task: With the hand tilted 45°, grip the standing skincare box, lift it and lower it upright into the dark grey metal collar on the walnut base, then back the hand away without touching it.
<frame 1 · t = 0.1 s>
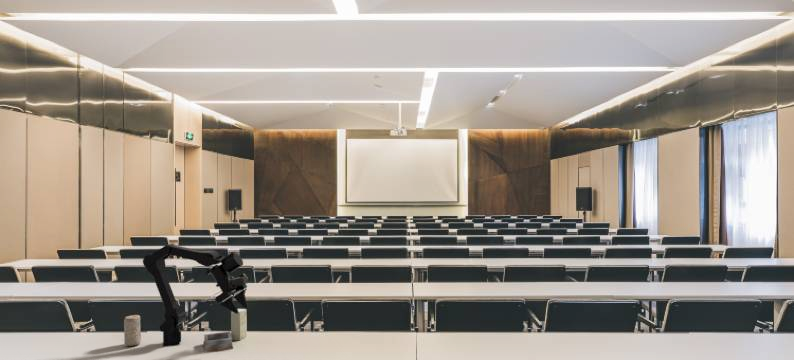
hand: (242, 310, 214), 15 cm above the table, tool tilted 35°, fingers open, 9 cm apart
skincare box: (238, 338, 225), on the table
carving: (132, 345, 216), on the table
socket: (218, 346, 214), on the table
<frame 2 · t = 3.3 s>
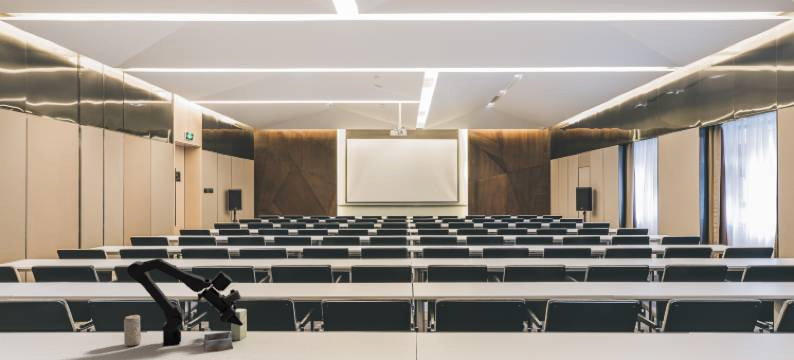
hand: (242, 322, 225), 7 cm above the table, tool tilted 45°, fingers closed on skincare box, 7 cm apart
skincare box: (238, 338, 225), on the table, touching gripper
everything else where it was.
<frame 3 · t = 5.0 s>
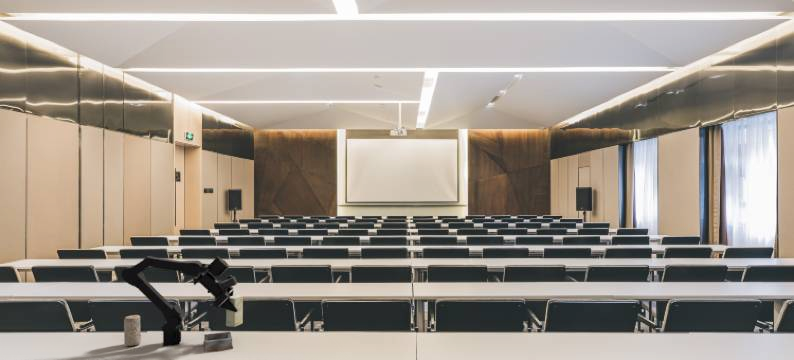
hand: (237, 309, 222), 13 cm above the table, tool tilted 45°, fingers closed on skincare box, 7 cm apart
skincare box: (234, 325, 222), point 6 cm above the table, touching gripper
everything else where it was.
when the fingers open (9 cm above the table, at t = 7.2 s): skincare box drops 1 cm, resting on socket.
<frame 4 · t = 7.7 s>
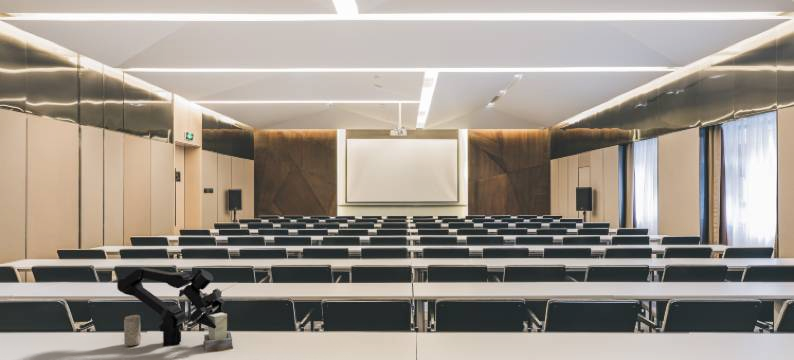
hand: (221, 324, 214), 9 cm above the table, tool tilted 45°, fingers open, 9 cm apart
skincare box: (217, 344, 214), point 1 cm above the table, touching socket
everything else where it was.
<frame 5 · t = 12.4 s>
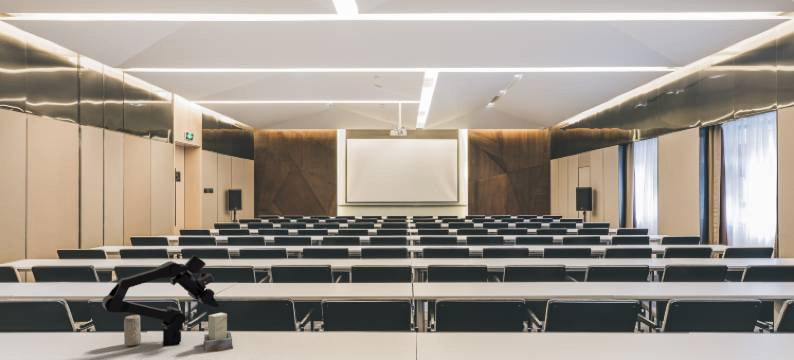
hand: (214, 304, 229), 14 cm above the table, tool tilted 45°, fingers open, 9 cm apart
nothing on the table moved.
at the end: skincare box 0.2 cm off-centre on the socket, point 0.8 cm above the socket's base; skincare box tilted 0°; the gripper is holding nothing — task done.
